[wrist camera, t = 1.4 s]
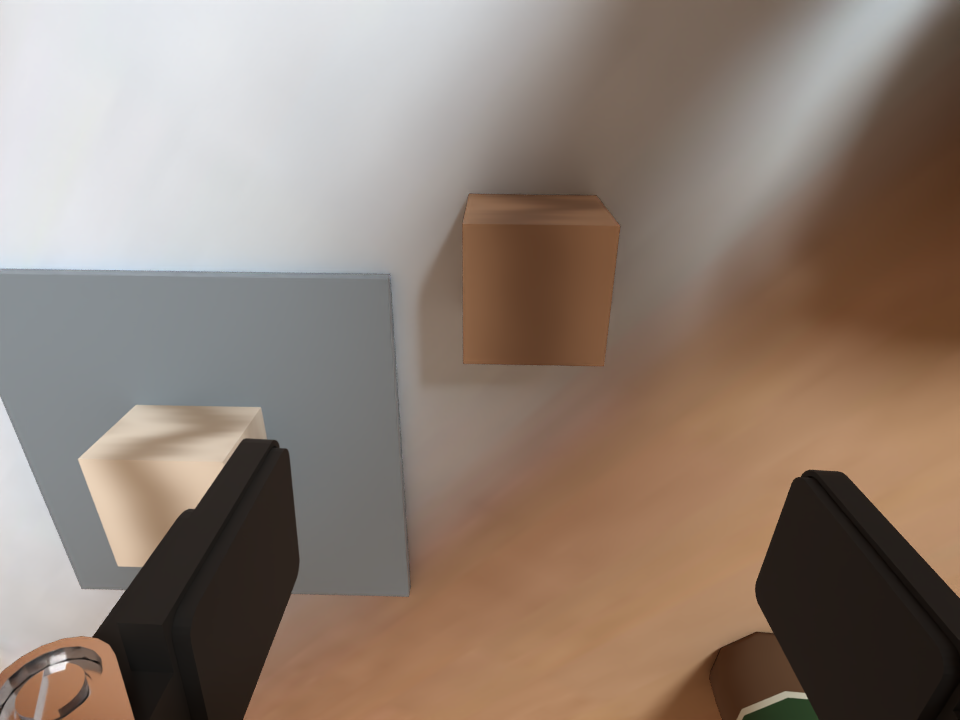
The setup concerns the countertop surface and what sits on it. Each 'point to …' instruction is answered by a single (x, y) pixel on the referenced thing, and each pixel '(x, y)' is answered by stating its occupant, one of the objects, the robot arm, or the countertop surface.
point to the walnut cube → (537, 279)
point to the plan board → (218, 398)
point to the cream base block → (160, 469)
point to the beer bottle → (758, 682)
